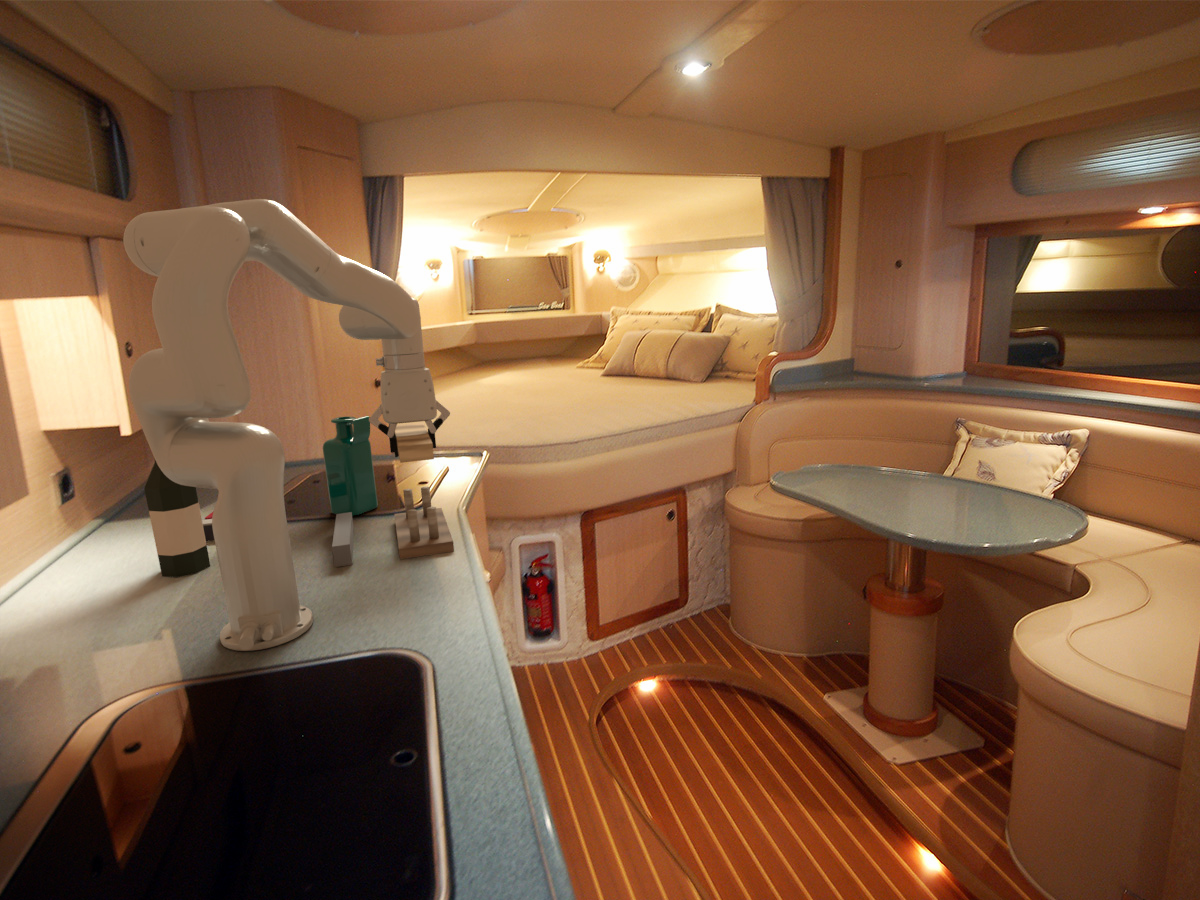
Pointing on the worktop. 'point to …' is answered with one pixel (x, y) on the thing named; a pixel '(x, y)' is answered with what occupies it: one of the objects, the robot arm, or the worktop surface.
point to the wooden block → (413, 443)
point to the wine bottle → (176, 525)
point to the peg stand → (422, 528)
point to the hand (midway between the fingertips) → (413, 453)
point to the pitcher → (350, 467)
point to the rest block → (343, 539)
